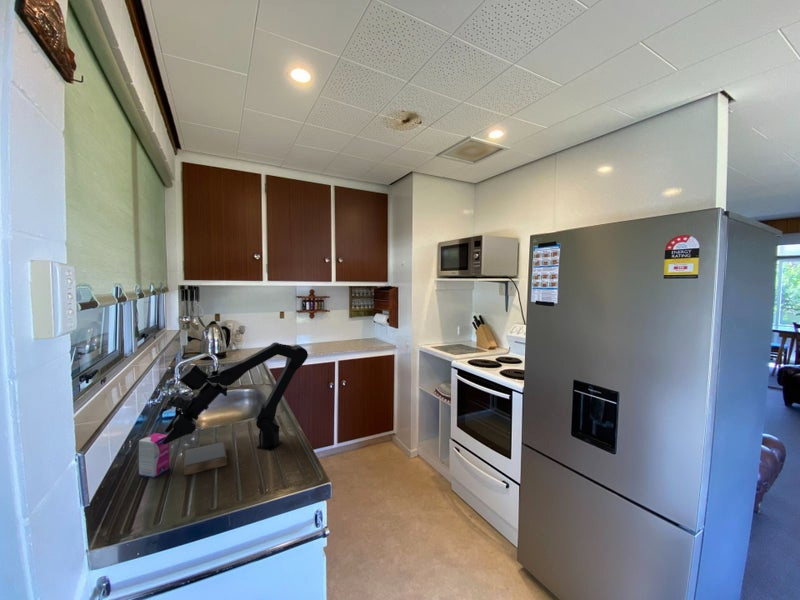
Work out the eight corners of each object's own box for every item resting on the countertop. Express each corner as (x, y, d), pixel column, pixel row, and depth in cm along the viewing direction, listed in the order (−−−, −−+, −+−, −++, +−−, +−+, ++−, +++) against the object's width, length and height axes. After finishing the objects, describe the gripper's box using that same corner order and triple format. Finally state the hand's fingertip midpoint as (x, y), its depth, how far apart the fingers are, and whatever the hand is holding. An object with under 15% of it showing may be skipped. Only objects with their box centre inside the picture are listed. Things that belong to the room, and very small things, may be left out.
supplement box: (154, 478, 103) (153, 442, 102) (138, 476, 104) (137, 440, 103) (170, 468, 109) (169, 434, 108) (155, 466, 110) (154, 432, 109)
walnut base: (224, 449, 121) (224, 441, 121) (227, 465, 111) (226, 456, 111) (185, 458, 115) (185, 449, 115) (184, 475, 105) (183, 466, 104)
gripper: (184, 377, 117) (146, 413, 112) (182, 392, 101) (137, 435, 96) (210, 395, 122) (174, 431, 116) (212, 412, 106) (171, 455, 101)
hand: (164, 437), depth 107 cm, fingers open, 9 cm apart
